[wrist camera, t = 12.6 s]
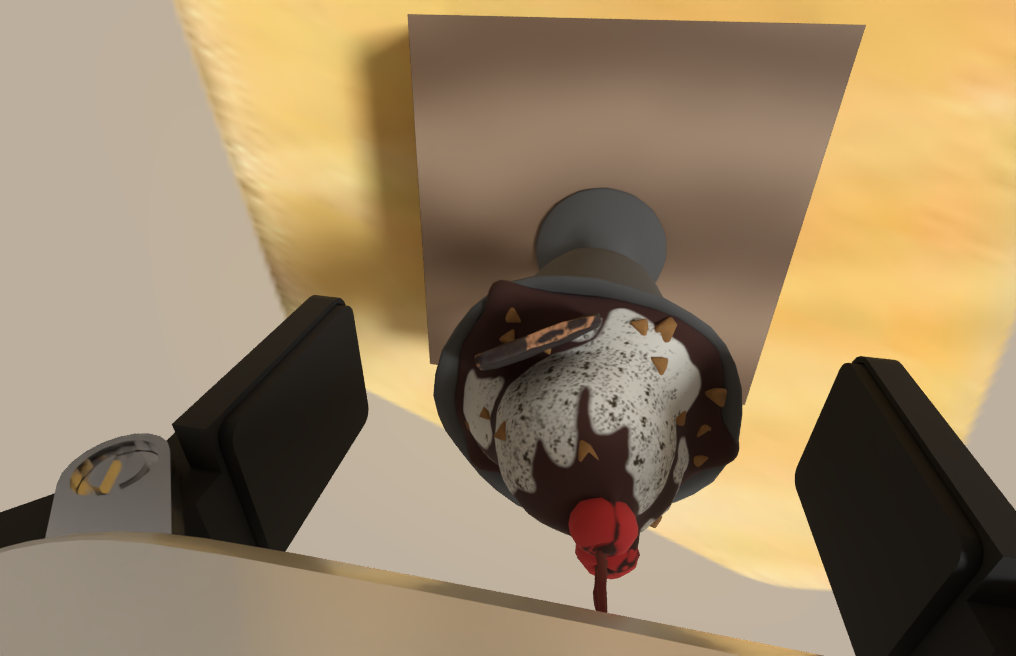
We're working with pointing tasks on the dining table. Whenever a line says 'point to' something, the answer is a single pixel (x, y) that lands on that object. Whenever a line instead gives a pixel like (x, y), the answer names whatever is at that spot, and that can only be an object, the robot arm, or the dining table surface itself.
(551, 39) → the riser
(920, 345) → the dining table surface
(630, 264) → the sundae
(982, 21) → the dining table surface
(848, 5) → the dining table surface
